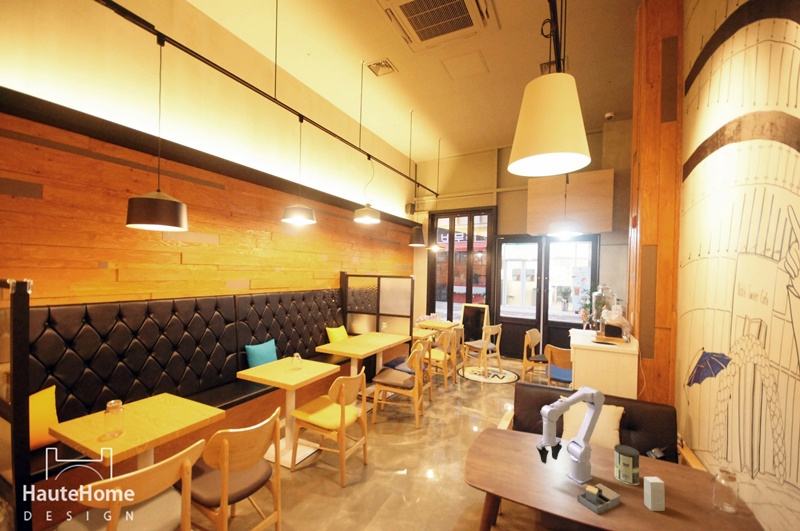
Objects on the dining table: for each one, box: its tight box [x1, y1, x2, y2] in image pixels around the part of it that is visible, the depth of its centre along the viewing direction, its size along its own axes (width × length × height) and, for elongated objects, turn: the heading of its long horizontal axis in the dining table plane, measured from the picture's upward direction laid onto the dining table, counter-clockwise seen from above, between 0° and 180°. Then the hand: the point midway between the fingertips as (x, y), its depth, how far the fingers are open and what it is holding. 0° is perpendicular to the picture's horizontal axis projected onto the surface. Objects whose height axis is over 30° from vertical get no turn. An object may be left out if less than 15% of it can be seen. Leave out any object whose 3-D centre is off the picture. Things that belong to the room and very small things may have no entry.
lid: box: [592, 483, 621, 501], centre depth 147 cm, size 7×9×2 cm
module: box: [585, 484, 599, 506], centre depth 143 cm, size 4×4×6 cm
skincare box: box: [643, 476, 666, 512], centre depth 142 cm, size 6×4×12 cm
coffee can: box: [613, 444, 640, 486], centre depth 163 cm, size 10×10×14 cm
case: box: [577, 491, 621, 515], centre depth 145 cm, size 16×9×3 cm, turn 117°
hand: (549, 460), depth 159 cm, fingers open, 7 cm apart
